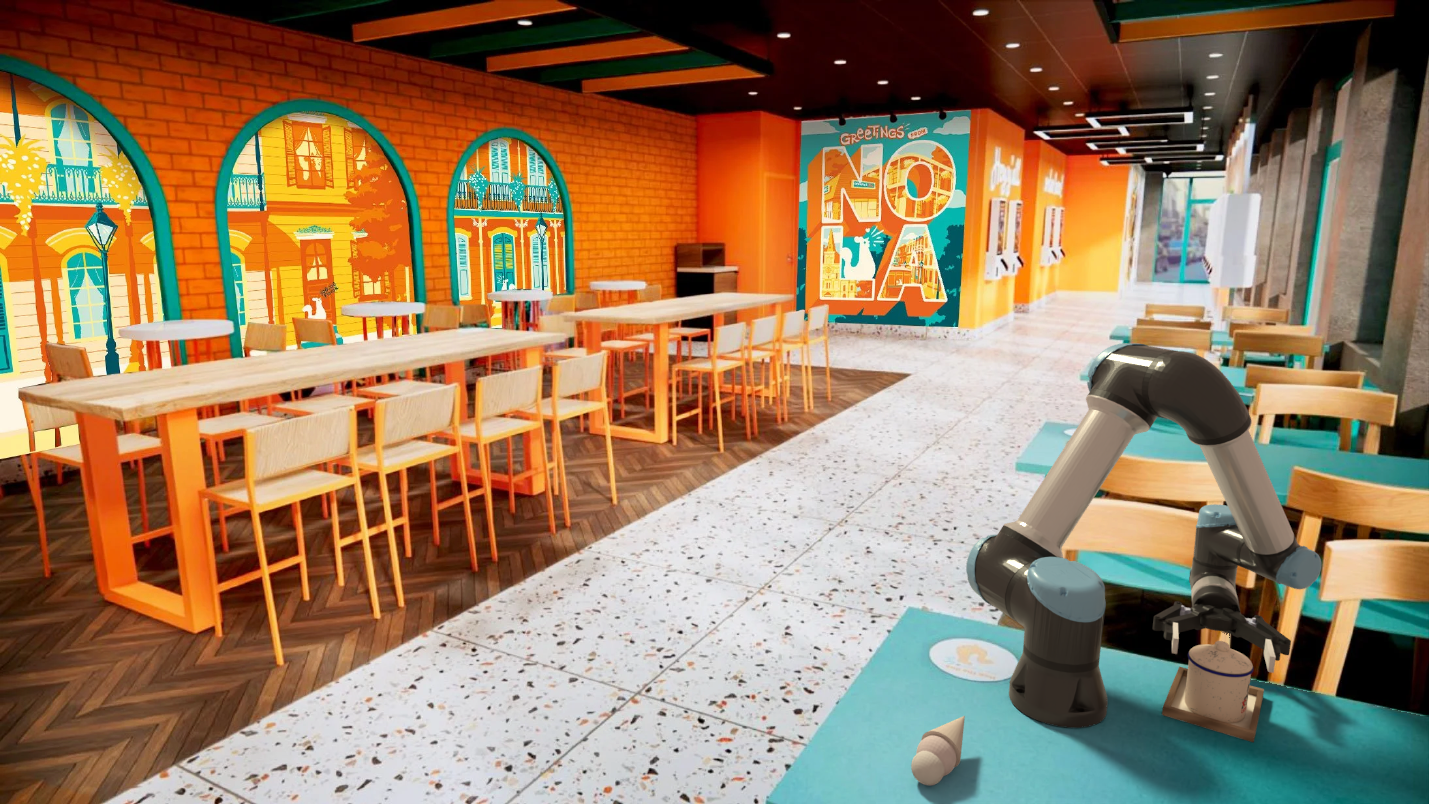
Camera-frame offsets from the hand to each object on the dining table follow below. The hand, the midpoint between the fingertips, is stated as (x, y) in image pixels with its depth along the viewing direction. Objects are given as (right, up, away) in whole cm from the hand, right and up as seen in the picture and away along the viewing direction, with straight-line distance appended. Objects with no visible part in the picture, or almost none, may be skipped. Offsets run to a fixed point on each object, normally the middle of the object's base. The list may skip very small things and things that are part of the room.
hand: (1222, 655), depth 137 cm
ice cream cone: (-50, -12, -13) cm, 53 cm away
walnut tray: (-1, -9, +1) cm, 9 cm away
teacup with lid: (-1, -8, +1) cm, 9 cm away
